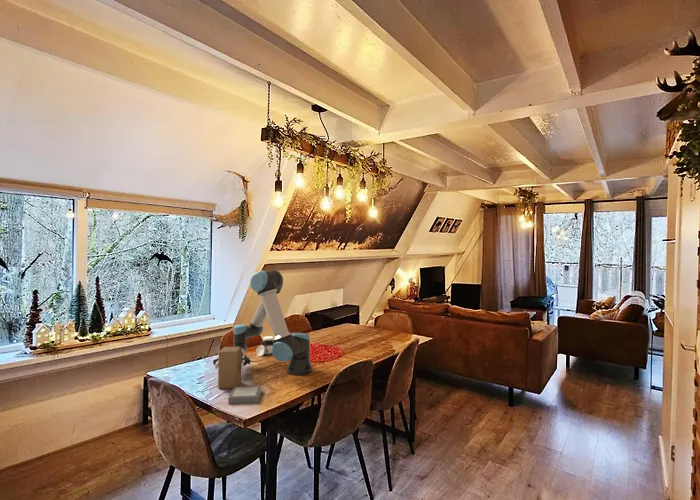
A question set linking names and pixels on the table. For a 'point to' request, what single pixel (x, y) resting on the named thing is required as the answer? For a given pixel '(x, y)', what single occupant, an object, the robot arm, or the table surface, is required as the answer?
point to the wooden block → (229, 367)
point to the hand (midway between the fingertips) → (228, 366)
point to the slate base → (245, 394)
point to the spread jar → (265, 346)
